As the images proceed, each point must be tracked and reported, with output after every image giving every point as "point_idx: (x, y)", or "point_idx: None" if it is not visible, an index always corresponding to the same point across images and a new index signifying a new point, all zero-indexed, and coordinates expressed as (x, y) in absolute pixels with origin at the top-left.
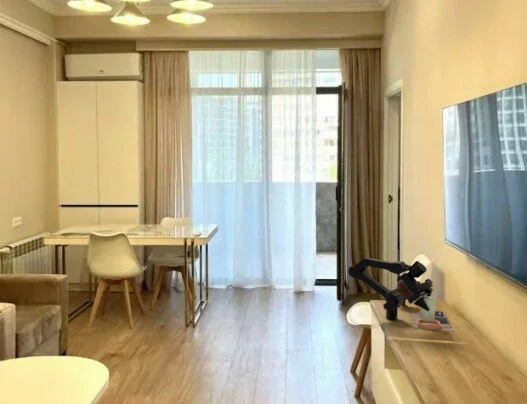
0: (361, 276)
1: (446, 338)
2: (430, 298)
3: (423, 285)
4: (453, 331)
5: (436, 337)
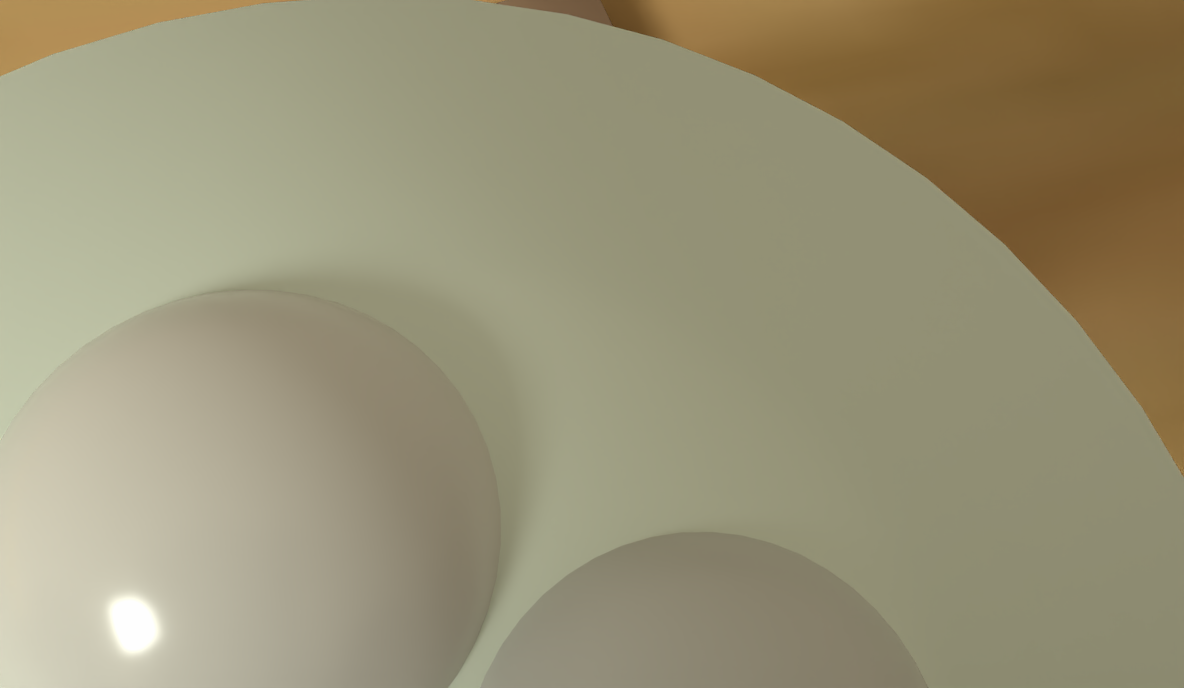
0: None
1: (1026, 100)
2: (750, 564)
3: None
4: (577, 5)
5: (1115, 300)
